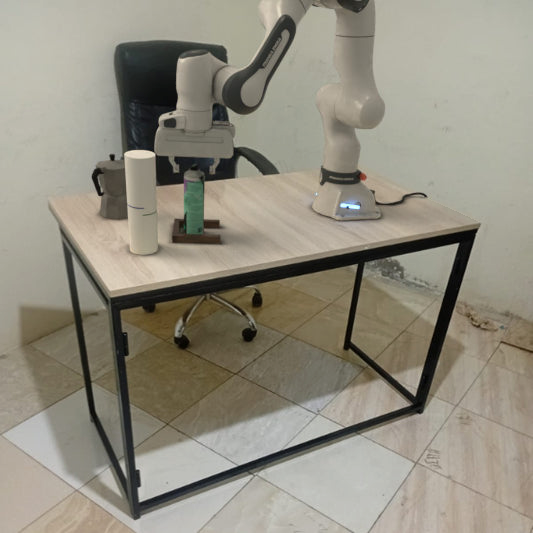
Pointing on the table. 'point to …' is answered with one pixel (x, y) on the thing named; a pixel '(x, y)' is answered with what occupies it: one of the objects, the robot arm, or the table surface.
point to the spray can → (194, 200)
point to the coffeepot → (111, 187)
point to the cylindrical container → (141, 201)
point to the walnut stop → (195, 237)
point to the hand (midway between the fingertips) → (194, 172)
